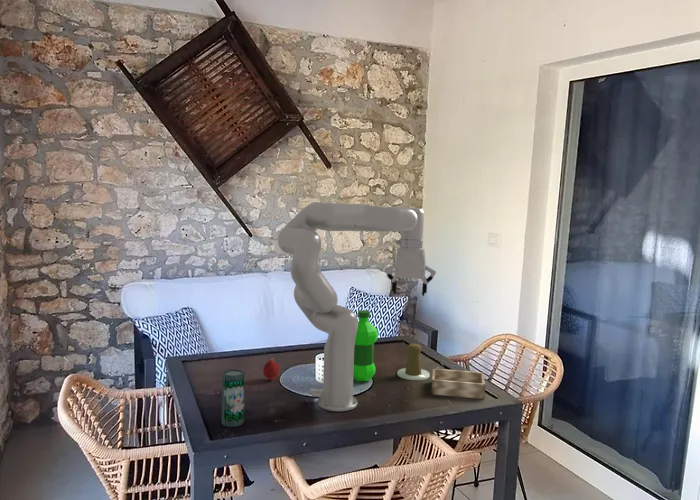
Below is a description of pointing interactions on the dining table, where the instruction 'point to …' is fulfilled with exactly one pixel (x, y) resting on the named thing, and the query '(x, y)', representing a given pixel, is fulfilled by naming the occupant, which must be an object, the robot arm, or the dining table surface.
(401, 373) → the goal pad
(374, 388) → the dining table surface
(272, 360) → the onion
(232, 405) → the can
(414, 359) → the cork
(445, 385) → the box
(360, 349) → the plastic bottle
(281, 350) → the dining table surface
